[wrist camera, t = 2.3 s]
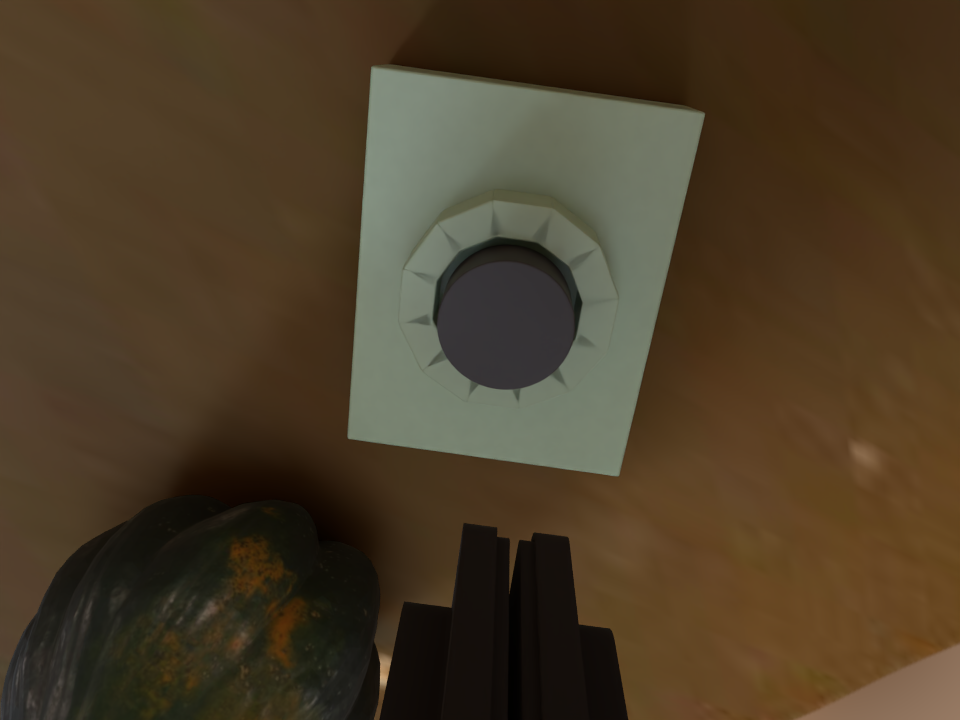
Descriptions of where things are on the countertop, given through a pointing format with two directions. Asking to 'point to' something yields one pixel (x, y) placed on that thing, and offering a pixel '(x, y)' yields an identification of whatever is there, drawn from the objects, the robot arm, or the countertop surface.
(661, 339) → the countertop surface
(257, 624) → the squash
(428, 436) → the knob plate
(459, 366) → the button
